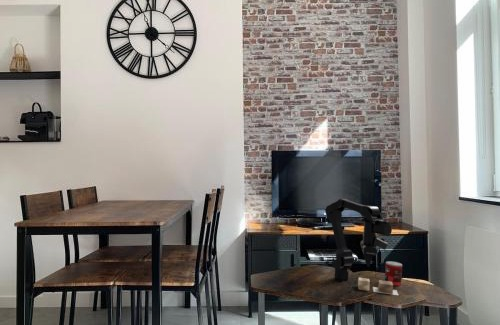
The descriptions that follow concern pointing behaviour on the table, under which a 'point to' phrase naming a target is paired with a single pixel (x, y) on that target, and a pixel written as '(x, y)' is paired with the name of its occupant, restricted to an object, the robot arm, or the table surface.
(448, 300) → the table surface
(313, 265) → the table surface
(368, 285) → the oak cube
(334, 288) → the table surface
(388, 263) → the canned food
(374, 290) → the build mat
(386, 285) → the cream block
